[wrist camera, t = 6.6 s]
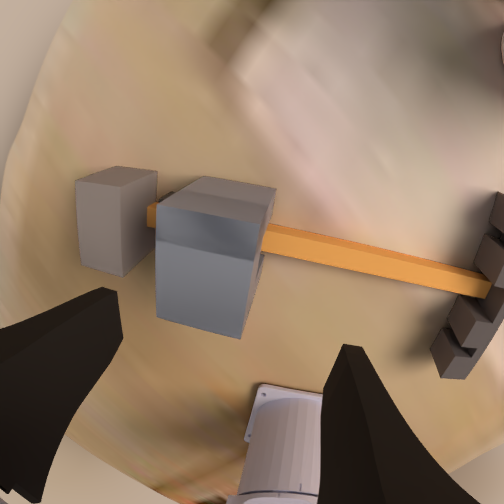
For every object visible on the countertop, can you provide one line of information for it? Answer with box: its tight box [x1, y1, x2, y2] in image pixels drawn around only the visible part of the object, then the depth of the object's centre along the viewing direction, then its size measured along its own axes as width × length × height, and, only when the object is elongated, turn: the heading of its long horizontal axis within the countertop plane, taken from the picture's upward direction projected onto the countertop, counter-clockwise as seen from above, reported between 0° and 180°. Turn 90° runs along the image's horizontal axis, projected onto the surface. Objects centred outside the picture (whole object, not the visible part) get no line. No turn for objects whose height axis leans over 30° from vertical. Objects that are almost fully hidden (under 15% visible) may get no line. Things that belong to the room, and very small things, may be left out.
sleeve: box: [155, 176, 276, 339], centre depth 15 cm, size 5×4×6 cm
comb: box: [430, 192, 504, 379], centre depth 15 cm, size 12×2×3 cm, turn 172°
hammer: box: [75, 166, 492, 299], centre depth 15 cm, size 5×26×4 cm, turn 82°
